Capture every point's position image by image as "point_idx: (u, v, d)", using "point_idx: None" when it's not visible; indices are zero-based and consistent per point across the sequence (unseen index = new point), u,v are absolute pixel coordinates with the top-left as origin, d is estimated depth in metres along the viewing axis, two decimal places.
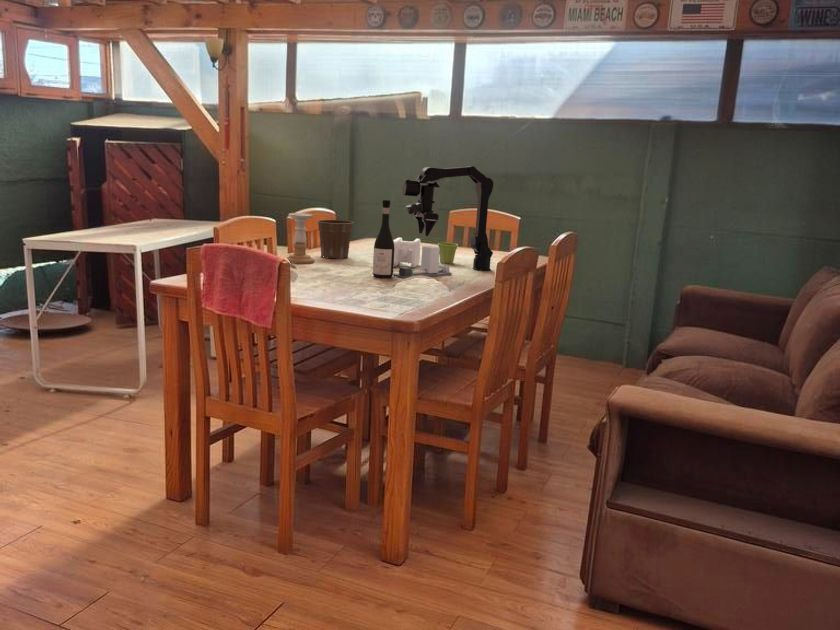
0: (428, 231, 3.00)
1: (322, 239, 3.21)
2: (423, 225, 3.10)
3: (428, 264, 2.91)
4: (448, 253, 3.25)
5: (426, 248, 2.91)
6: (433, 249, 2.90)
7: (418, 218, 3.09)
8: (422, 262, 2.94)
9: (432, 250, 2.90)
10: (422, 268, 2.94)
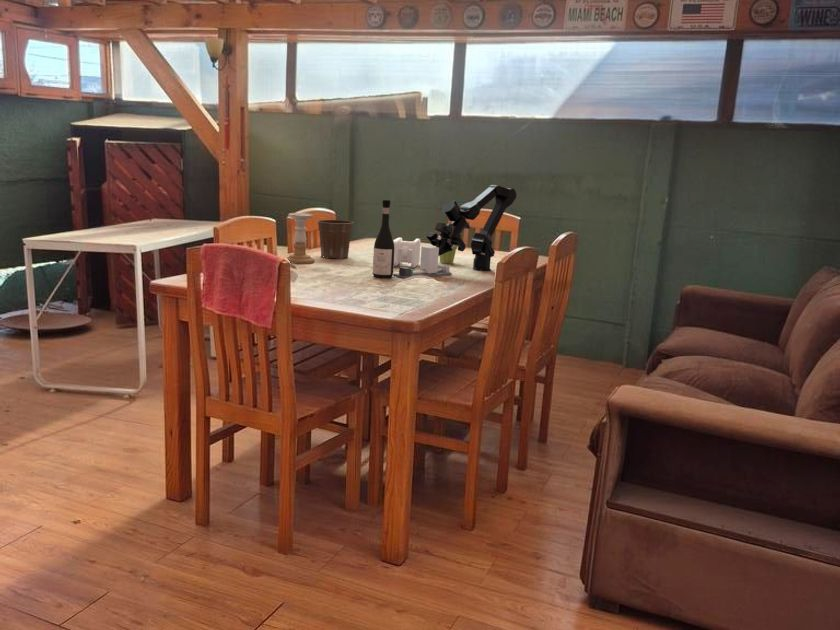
0: (439, 253, 2.95)
1: (322, 239, 3.21)
2: None
3: (427, 264, 2.91)
4: (448, 253, 3.25)
5: (425, 248, 2.91)
6: (432, 249, 2.90)
7: (440, 243, 2.97)
8: (421, 262, 2.93)
9: (431, 250, 2.90)
10: (421, 268, 2.94)
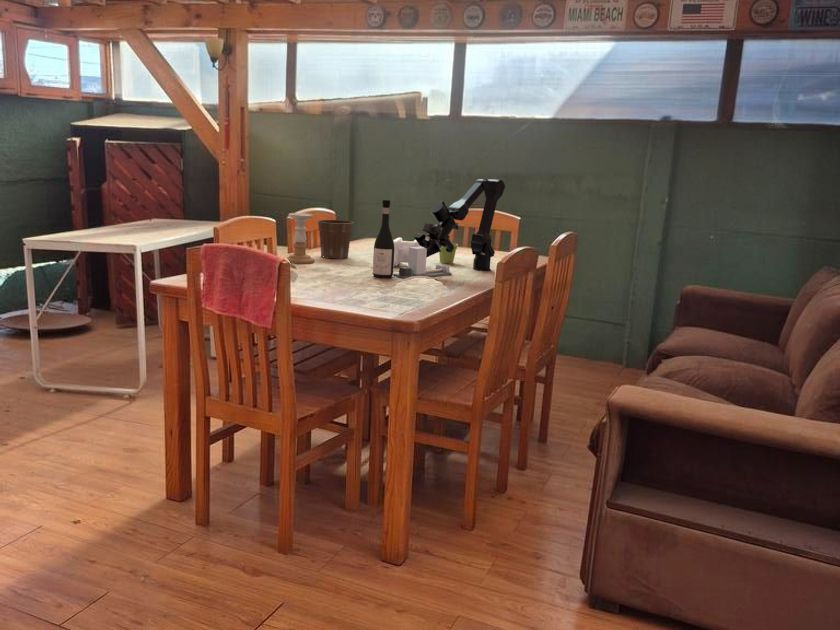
0: (427, 255, 2.91)
1: (322, 239, 3.21)
2: None
3: (415, 266, 2.87)
4: (448, 253, 3.25)
5: (413, 249, 2.86)
6: (420, 250, 2.86)
7: (428, 244, 2.92)
8: (409, 263, 2.89)
9: (419, 251, 2.85)
10: None
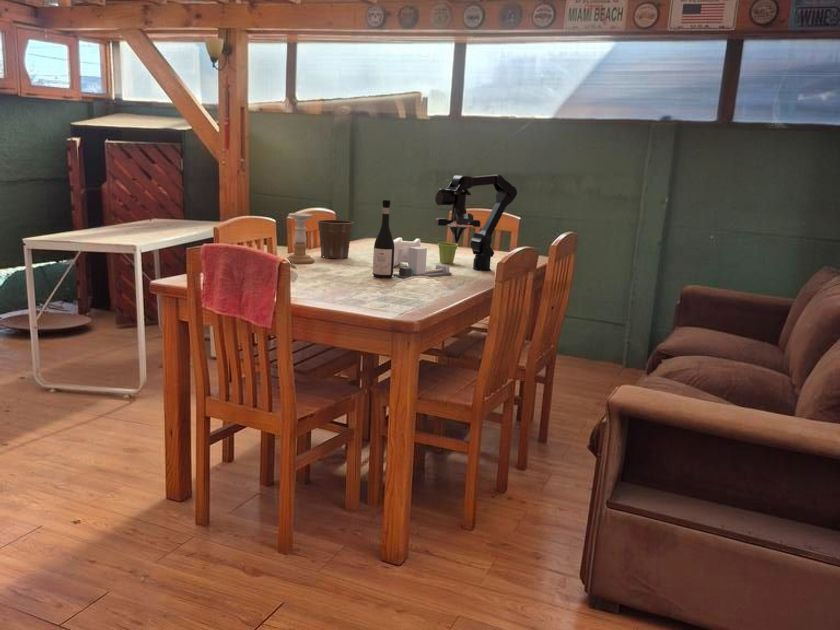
0: None
1: (322, 239, 3.21)
2: None
3: (415, 266, 2.87)
4: (448, 253, 3.25)
5: (413, 249, 2.86)
6: (420, 250, 2.86)
7: None
8: (409, 263, 2.89)
9: (419, 251, 2.85)
10: None
